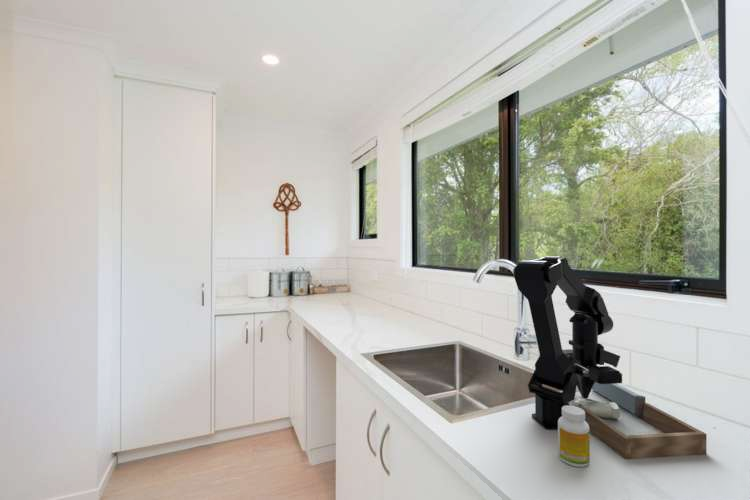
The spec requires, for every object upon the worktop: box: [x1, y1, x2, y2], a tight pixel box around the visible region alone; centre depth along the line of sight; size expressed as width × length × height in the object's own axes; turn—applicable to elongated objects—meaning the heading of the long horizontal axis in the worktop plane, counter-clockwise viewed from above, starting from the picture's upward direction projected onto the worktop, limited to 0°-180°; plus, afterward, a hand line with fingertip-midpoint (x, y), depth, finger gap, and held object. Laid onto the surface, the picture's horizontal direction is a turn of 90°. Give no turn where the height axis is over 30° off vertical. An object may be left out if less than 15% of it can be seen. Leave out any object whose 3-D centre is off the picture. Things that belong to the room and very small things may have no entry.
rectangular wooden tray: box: [579, 394, 707, 460], centre depth 77 cm, size 17×16×5 cm
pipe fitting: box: [574, 396, 621, 420], centre depth 86 cm, size 8×4×7 cm
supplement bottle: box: [557, 404, 591, 468], centre depth 68 cm, size 5×5×10 cm
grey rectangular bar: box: [591, 382, 639, 415], centre depth 93 cm, size 15×2×4 cm, turn 5°
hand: (584, 397), depth 92 cm, fingers closed
